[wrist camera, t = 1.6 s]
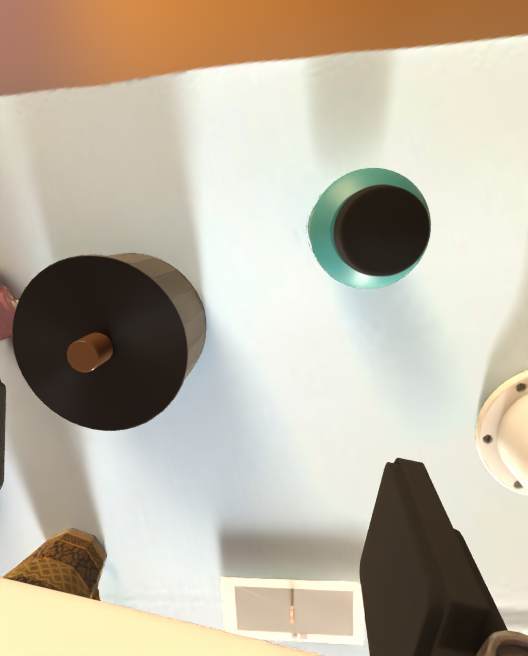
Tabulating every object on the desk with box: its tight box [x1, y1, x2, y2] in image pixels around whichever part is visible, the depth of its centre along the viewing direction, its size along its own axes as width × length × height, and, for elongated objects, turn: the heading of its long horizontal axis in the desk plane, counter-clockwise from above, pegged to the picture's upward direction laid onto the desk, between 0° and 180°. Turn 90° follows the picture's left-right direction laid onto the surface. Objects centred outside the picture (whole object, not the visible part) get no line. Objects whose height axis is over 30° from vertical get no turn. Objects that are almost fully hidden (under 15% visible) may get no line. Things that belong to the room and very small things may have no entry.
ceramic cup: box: [2, 528, 107, 601], centre depth 44 cm, size 13×10×10 cm
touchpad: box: [220, 577, 364, 645], centre depth 46 cm, size 8×15×2 cm, turn 92°
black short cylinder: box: [110, 253, 206, 378], centre depth 38 cm, size 13×13×8 cm
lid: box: [12, 255, 189, 431], centre depth 33 cm, size 14×14×4 cm
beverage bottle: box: [308, 168, 431, 289], centre depth 28 cm, size 6×7×20 cm
